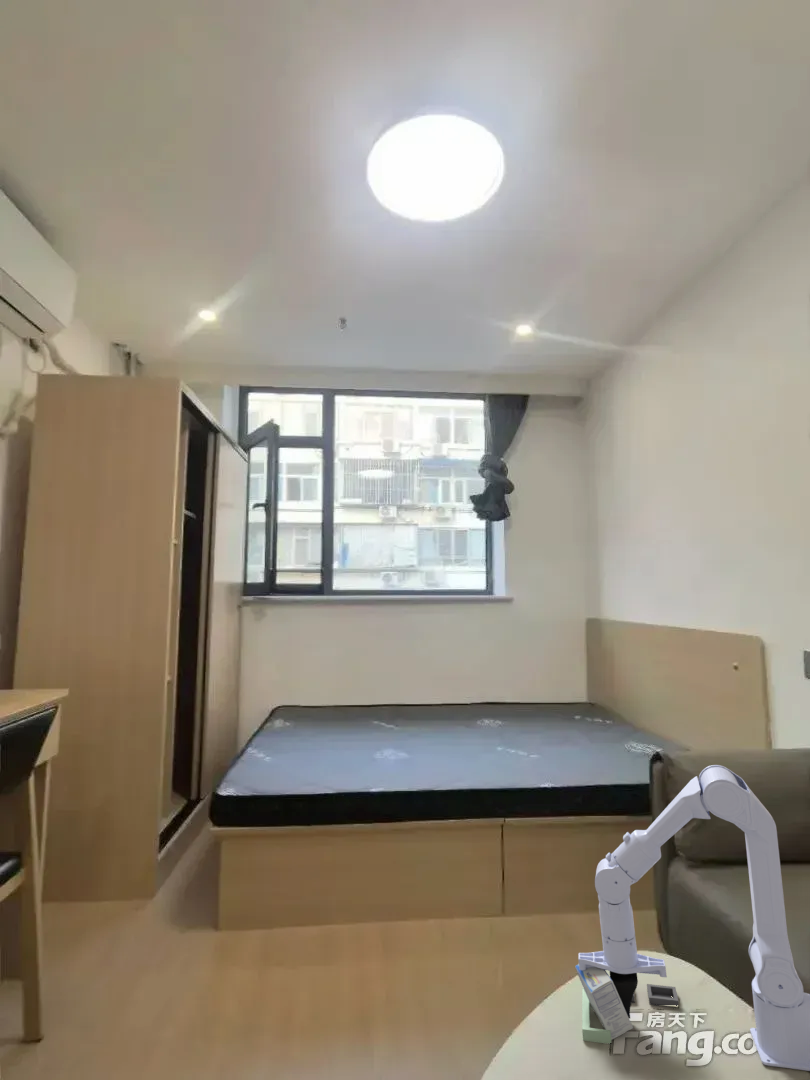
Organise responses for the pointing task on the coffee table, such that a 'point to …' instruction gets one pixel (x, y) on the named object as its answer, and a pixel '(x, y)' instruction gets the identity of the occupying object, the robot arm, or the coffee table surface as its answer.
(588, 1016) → the mint green u-bracket
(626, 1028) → the medicine box
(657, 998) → the grey flat rectangular tray
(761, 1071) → the coffee table surface
